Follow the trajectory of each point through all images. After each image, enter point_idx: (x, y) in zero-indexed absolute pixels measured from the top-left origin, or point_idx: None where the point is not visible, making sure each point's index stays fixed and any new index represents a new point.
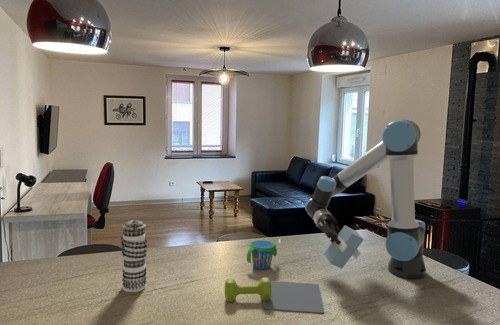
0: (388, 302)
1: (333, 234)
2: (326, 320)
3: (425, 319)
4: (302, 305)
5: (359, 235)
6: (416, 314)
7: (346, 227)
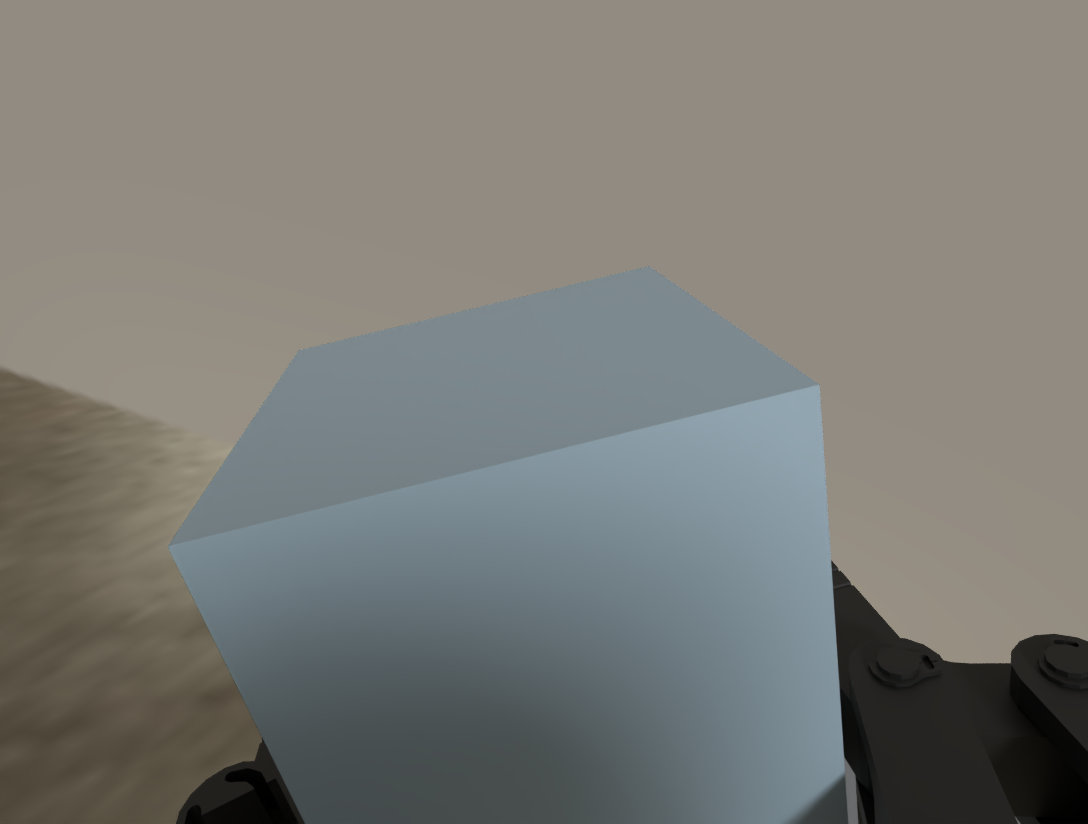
0: (139, 630)
1: (981, 734)
2: None
3: (132, 420)
4: (848, 784)
5: (318, 385)
6: (121, 463)
7: (754, 348)
